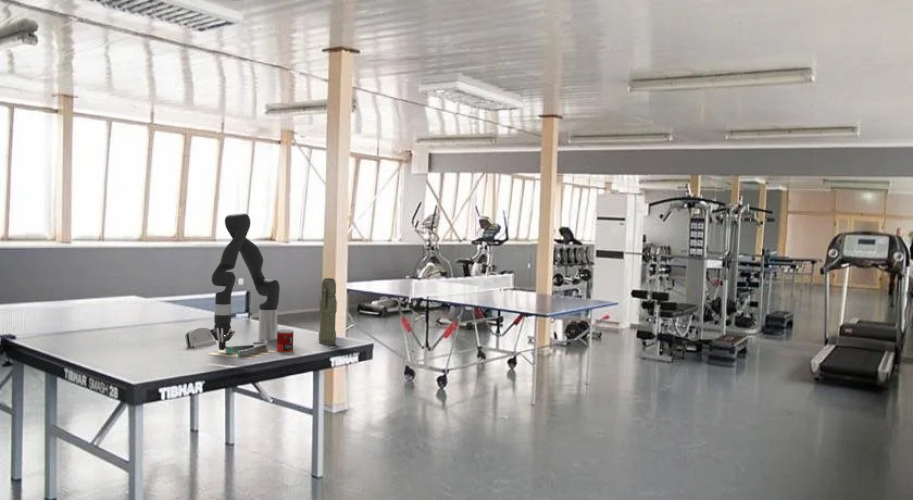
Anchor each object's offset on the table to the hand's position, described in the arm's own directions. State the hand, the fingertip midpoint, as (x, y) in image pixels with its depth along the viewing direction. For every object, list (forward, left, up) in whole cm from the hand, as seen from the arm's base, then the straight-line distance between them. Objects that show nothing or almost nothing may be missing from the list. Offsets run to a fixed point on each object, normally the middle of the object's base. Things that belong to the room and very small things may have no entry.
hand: (222, 349), depth 323 cm
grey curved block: (-15, -25, -3) cm, 29 cm away
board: (-5, +8, -2) cm, 9 cm away
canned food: (-19, +22, -3) cm, 29 cm away
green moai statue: (-48, +29, -3) cm, 56 cm away
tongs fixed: (-5, +14, -1) cm, 15 cm away
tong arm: (-5, +9, -1) cm, 11 cm away
